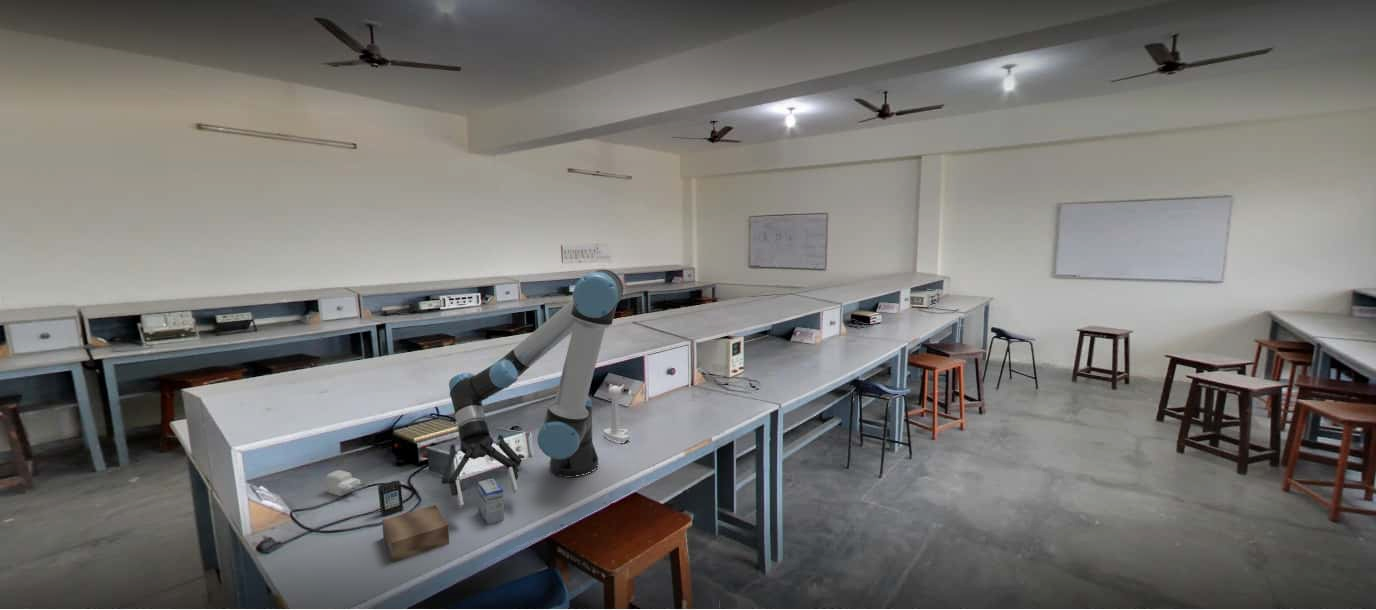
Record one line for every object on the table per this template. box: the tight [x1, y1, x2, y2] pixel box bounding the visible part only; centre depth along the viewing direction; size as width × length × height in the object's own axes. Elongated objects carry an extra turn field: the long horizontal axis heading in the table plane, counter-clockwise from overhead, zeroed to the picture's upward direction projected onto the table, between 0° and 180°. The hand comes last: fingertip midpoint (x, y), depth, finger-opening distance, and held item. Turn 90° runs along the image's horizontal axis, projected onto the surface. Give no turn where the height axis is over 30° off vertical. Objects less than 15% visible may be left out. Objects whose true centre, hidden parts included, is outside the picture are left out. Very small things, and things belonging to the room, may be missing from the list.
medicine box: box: [477, 478, 505, 526], centre depth 139 cm, size 8×4×9 cm, turn 37°
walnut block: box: [381, 504, 450, 563], centre depth 128 cm, size 12×12×5 cm
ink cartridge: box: [377, 479, 404, 517], centre depth 140 cm, size 5×2×8 cm, turn 131°
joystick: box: [602, 385, 631, 442], centre depth 191 cm, size 11×8×20 cm
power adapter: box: [326, 469, 366, 497], centre depth 150 cm, size 11×5×6 cm, turn 69°
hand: (489, 499), depth 138 cm, fingers open, 13 cm apart
